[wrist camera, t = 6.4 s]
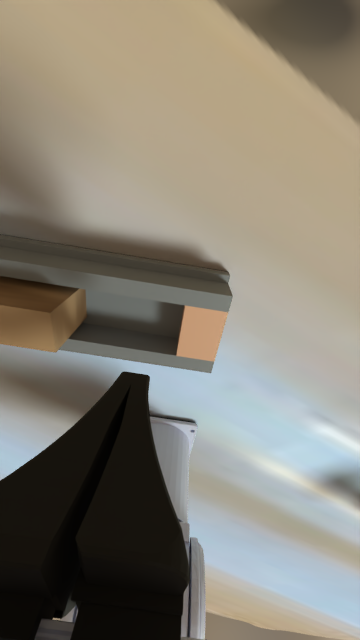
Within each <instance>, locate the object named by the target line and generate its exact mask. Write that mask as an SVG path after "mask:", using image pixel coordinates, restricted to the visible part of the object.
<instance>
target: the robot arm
mask: <svg viewBox="0 0 360 640" xmlns="http://www.w3.org/2000/svg"><path fill="white" fill-rule="evenodd" d="M149 381H150V377H149V376H148V375H144V374H137V373H131V372H122V373H121V374H120V376H119V377H118V378H117V380H116V381H115V382H114V384H113V385H112V386H111V387H110V388H109V390H108V391H107V392H106V393H105V394H104V395H103V396H102V398H101V399H100V400H99V401H98V402H97V403H96V404H95V405H94V406H93V407H92V408H91V409H90V410H89V411H88V412H87V413H86V414H85V415H84V416H83V417H82V418H81V419H80V420H79V421H78V422H77V423H76V424H75V425H74V426H73V427H71V428H70V429H69V430H68V431H67V432H66V433H64V434H63V435H62V436H61V437H60V438H59V439H57V440H56V441H55V442H54V443H52V444H51V445H50V446H49V447H47V448H46V449H45V450H43V451H42V452H41V453H39V454H38V455H37V456H35V457H34V458H33V459H31V460H30V461H28V462H27V463H26V464H24V465H23V466H21V467H20V468H18V469H17V470H16V471H14V472H13V473H11V474H10V475H8V476H7V477H5V478H4V479H2V480H1V481H0V640H205V567H204V554H203V549H202V547H201V545H200V544H199V543H198V540H197V538H194V537H190V545H189V523H188V482H189V456H190V453H191V449H192V446H193V443H194V439H195V436H196V432H197V429H198V426H197V424H196V423H191V422H184V421H178V420H171V419H164V418H157V417H151V416H150V414H149V404H148V390H149ZM53 618H60V621H59V620H52V619H53Z"/></svg>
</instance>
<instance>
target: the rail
mask: <svg viewBox="0 0 360 640" xmlns="http://www.w3.org/2000/svg"><path fill="white" fill-rule="evenodd" d="M0 276H4V277H11V278H17V279H23V280H29V281H36V282H42V283H48V284H54V285H61V286H67V287H73V288H79V289H85V290H86V309H87V317H86V319H85V320H84V321H83V322H82V323H81V324H80V325H79V327H78V328H77V329H76V330H75V331H74V332H73V333H72V335H71V336H70V337H69V338H68V339H67V340H66V342H65V343H64V344H63V345H62V346H61V347H60V348H59V350H64V351H71V352H77V353H84V354H90V355H97V356H103V357H110V358H116V359H123V360H129V361H136V362H142V363H149V364H155V365H162V366H168V367H174V368H181V369H187V370H194V371H200V372H207V373H211V371H212V368H213V364H214V360H215V357H216V353H217V350H218V346H219V343H220V339H221V336H222V332H223V329H224V325H225V322H226V318H227V315H228V311H229V308H230V304H231V301H232V297H233V296H232V293H231V290H230V288H229V285H228V282H229V278H230V275H229V272H226V271H220V270H214V269H208V268H202V267H196V266H189V265H183V264H177V263H171V262H165V261H159V260H153V259H147V258H141V257H135V256H128V255H122V254H116V253H110V252H104V251H98V250H92V249H86V248H80V247H74V246H67V245H61V244H55V243H49V242H43V241H37V240H31V239H25V238H19V237H13V236H6V235H0Z"/></svg>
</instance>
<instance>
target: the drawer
mask: <svg viewBox="0 0 360 640" xmlns="http://www.w3.org/2000/svg"><path fill="white" fill-rule="evenodd" d="M86 317H87V309H86V290H85V289H79V288H73V287H67V286H61V285H54V284H48V283H42V282H36V281H29V280H23V279H17V278H11V277H4V276H0V344H5V345H11V346H17V347H24V348H30V349H37V350H43V351H49V352H57V351H58V350H59V348H60V347H61V346H62V345H63V344H64V343H65V342H66V340H67V339H68V338H69V337H70V336H71V335H72V333H73V332H74V331H75V330H76V329H77V328H78V327H79V325H80V324H81V323H82V322H83V321H84V320H85V319H86Z"/></svg>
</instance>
